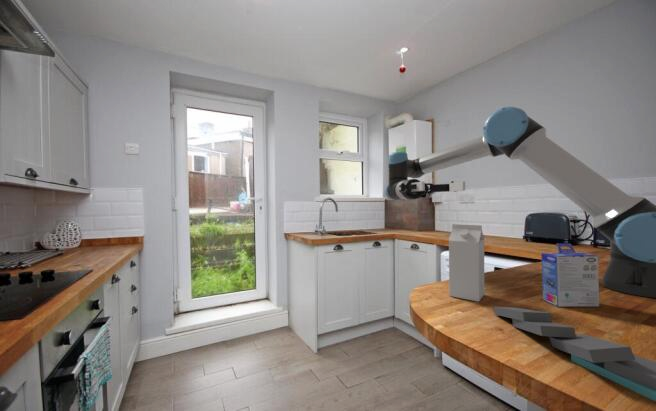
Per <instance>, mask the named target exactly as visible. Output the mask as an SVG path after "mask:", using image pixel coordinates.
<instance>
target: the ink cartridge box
mask: <svg viewBox="0 0 656 411" xmlns="http://www.w3.org/2000/svg"><path fill="white" fill-rule="evenodd" d="M555 245H556V247H557V250H558V252H541V253H540V255H541V271H542V274H541V275H542V300H543V301H545V302H547V303H549V304H551V305H553V306H555V307H559V308H561V307H562V308H563V307H564V308H565V307H566V308H567V307H599V306H600V295H599V294H600V291H599V290H600V289H599V284H600V283H599V256H598V255H597V254H592V253H591V254H590V253H587V252H586V253H585V252H582V251H581V252H580V251H579V252H577V251H575V249H574V247H573V244H571V243H569V242H568V243H565V242H564V243H559V242H558V243H557V242H556V243H555ZM562 247H567V248H562Z"/></svg>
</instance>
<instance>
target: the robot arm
mask: <svg viewBox="0 0 656 411" xmlns="http://www.w3.org/2000/svg"><path fill="white" fill-rule="evenodd" d="M482 133H483V135H482V136H479V137H476V138H474V139H470V140H467V141H465V142H462V143H458V144H456V145H453V146H450V147H447V148H443V149H441V150H438V151H436V152H433V153H430V154H427V155H424V156H421V157H418V158H415V159H413V160H412V159H409V158H408V153H407V152H406V151H396V152H391V153H390V154H389V156H388V162H387V163H388V184H387V185H386V186H385V190H384V192H385V195H386V197H387V198H388V199H390V200H392V201H393V200H394V201H401V200H403V201H405V202H408V200H417V199H420V197H422V196H423V195H426V194H433V193H440V192H441V193H443V192H444V193H445V192H447V193H448V192H463V191H466V181H458V182H454V181H451V182H450V183H440V184H438V183H437V184H434V183H426V182H425V181H421V180H419V178H421V177H423V176H424V175H427V174H431V173H433V172H437V171H440V170H444V169H447V168H451V167H454V166H457V165H461V164H464V163H467V162H471V161H474V160H478V159H482V158H485V157H488V156H490V157H493V158H494V157H499V156H503V155H505V156H506V157H507V158H509V159H510V160H511V161H513V160H520V161H521V162H523V164H525V165H526V166H527V167H529V168H530V169H531V170H532V171H534V172H535V173H536V174H537V175H539V176H540V177H541V178H543V180H545V181H546V182H548V183H549V184H550V185H551V186H552V187H554V188H555V189H556V190H558V191H559V192H560V193H561V194H562V195H564V196H565V197H566V198H568V199H569V200H570V201H571V202H572V203H574V204H575V205H577V206H578V207H579V208H580V209H581V210H583V211H584V212H585V213H586V214H588V216H590V217H591V218H592V219H593V227H594V228H595V229H596V230H597V231H598V232H600V234H602V235H603V236H604V237H605V238H607V239H608V240H609V241H610V243H609V244H610V247H609V248H610V250H609V251H610V260H609V261H608V264H607V266H606V268H605V271H604V273H603V275H602V277H601V285H602V286H603V287H605V288H607V289H610V290H613V291H617V292H620V293H623V294H624V293H625V294H628V295H632V296H633V295H634V296H638V297H639V296H640V297H646V298H653V299H656V205H655V204H654V203H653V202H651V200H648V199H647V198H646V197H644V196H636V195H635V196H632V195H628V194H627V193H626V192H624V191H623V190H622V189H620V188H619V187H618V186H616V185H615V184H613V183H612V182H610V181H609V180H607V179H606V178H605V177H603V176H602V175H600V173H597V171H595V170H594V169H592V168H591V167H589V166H588V165H587V164H585V163H584V162H582V161H581V160H579V159H578V158H577V157H575V156H574V155H573V154H572V153H570V152H568V151H567V150H565V149H564V148H562V147H561V146H560V145H559V144H557V143H555V142H554V141H553V140H552V139H550V138H549V137H547V128H545V126H543V125H541V124H540V123H539V122H537V121H535V120H534V119H533V118H531V116H528V114H527V113H526V111H525V110H523V109H522V108H519V107H515V106H505V107H501V108H499V109H497V110H495V111H494V112H493V113H492V112H491V114H490V115H489V116H488V117H487V118H486V120H485V122H484V124H483V128H482ZM409 178H410V179H409Z"/></svg>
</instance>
